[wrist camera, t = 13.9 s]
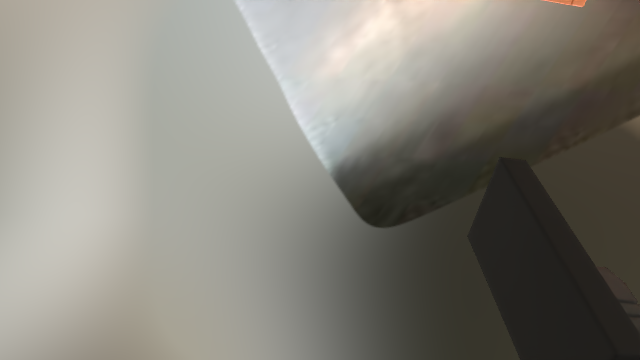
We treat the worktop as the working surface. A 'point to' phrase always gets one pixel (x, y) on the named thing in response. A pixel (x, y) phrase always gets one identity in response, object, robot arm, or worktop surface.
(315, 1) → the worktop surface
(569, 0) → the crate
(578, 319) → the robot arm
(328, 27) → the worktop surface
